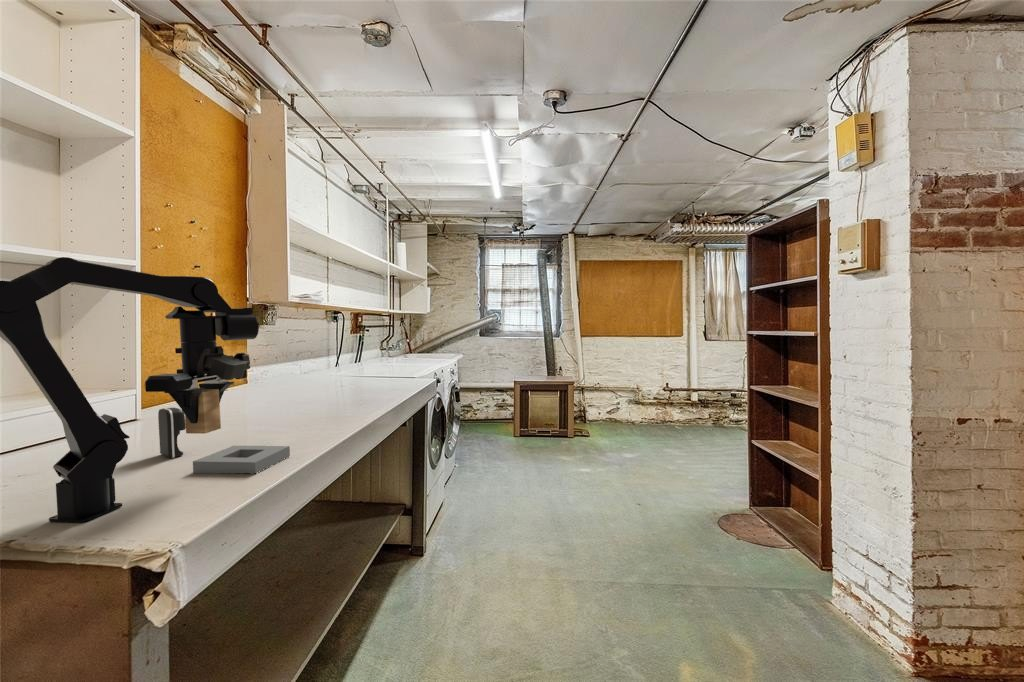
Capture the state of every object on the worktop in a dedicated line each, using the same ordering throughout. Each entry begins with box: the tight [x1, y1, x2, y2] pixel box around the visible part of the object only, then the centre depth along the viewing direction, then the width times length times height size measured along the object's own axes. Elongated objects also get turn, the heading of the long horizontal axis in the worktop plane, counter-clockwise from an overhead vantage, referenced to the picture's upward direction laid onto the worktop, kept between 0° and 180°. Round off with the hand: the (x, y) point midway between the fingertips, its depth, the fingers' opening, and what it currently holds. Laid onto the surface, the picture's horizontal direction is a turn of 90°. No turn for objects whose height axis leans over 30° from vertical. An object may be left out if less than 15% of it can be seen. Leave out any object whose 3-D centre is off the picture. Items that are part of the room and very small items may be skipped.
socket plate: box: [192, 445, 291, 474], centre depth 98 cm, size 12×14×2 cm
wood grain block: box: [184, 389, 222, 435], centre depth 87 cm, size 4×4×8 cm
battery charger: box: [157, 407, 186, 459], centre depth 106 cm, size 7×4×11 cm, turn 54°
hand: (203, 420), depth 87 cm, fingers closed on wood grain block, 4 cm apart
